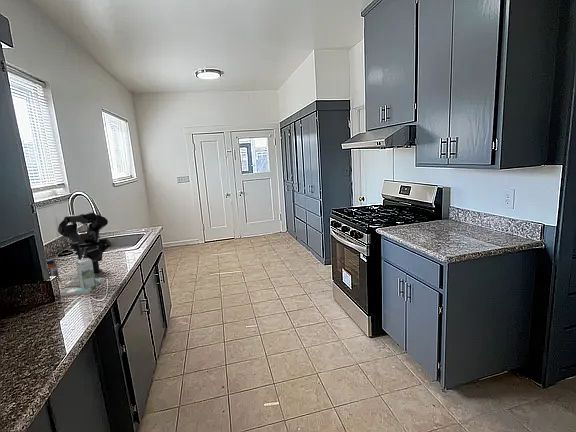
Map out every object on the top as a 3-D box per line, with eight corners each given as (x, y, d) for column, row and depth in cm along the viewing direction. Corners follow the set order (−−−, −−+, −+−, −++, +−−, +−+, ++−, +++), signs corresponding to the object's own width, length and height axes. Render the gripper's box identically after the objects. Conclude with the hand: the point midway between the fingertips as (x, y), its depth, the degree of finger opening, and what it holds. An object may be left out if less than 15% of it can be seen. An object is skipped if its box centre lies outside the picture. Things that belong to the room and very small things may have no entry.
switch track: (69, 283, 178) (68, 280, 177) (102, 280, 179) (102, 277, 179) (50, 297, 161) (50, 293, 161) (87, 293, 163) (87, 290, 162)
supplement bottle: (43, 280, 185) (39, 261, 183) (54, 276, 190) (50, 257, 188) (51, 281, 183) (46, 262, 181) (61, 277, 188) (57, 258, 186)
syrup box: (92, 283, 175) (87, 257, 172) (96, 286, 171) (91, 259, 168) (80, 287, 171) (74, 260, 168) (84, 290, 167) (79, 262, 164)
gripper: (67, 228, 176) (61, 255, 168) (103, 223, 177) (99, 250, 169) (78, 238, 186) (73, 264, 178) (113, 233, 187) (109, 259, 179)
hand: (88, 259), depth 176 cm, fingers open, 9 cm apart
